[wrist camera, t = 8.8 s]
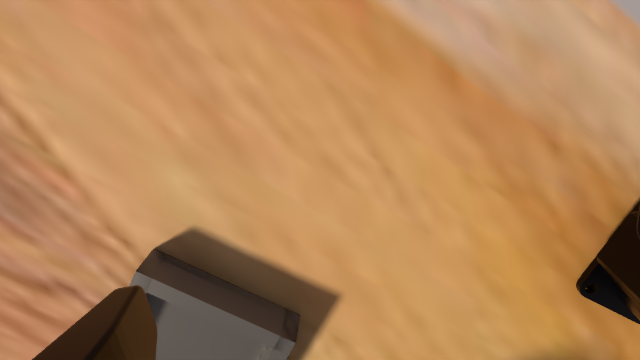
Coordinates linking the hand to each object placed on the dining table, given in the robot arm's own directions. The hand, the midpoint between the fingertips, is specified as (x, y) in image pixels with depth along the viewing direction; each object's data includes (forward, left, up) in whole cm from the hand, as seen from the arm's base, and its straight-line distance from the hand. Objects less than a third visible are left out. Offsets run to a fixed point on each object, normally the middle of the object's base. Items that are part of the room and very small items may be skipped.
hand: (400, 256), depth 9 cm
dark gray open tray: (+2, +15, -14) cm, 20 cm away
